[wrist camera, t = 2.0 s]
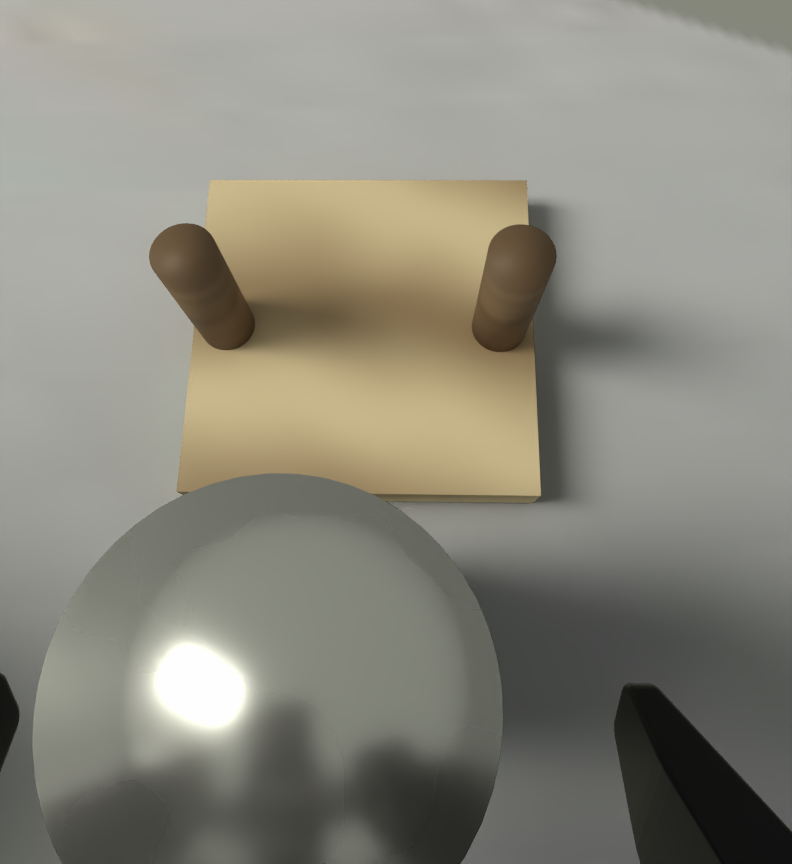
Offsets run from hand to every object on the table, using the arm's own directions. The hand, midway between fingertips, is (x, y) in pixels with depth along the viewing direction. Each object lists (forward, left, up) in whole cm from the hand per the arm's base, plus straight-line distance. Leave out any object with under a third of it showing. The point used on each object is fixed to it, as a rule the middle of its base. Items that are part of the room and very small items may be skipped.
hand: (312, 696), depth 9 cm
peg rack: (+8, -5, -9) cm, 13 cm away
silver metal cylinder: (0, 0, -9) cm, 9 cm away
